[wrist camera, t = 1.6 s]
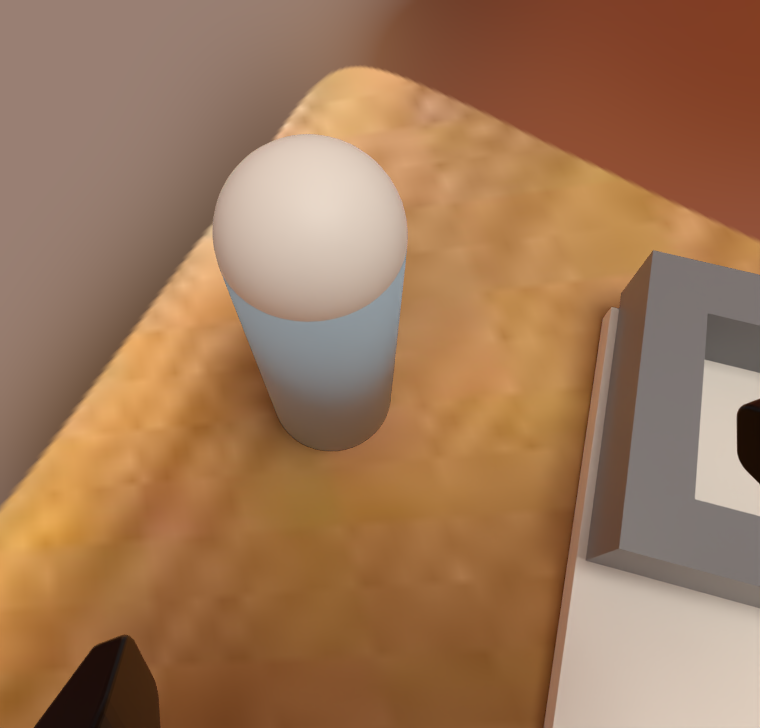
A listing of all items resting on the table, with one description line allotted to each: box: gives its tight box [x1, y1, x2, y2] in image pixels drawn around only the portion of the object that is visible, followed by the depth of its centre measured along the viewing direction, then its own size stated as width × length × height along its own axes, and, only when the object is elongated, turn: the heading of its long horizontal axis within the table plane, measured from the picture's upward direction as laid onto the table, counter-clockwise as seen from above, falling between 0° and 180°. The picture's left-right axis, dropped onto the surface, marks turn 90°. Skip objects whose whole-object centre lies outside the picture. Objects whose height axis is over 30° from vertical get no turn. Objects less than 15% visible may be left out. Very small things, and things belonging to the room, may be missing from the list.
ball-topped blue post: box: [213, 134, 408, 451], centre depth 18 cm, size 4×4×12 cm
